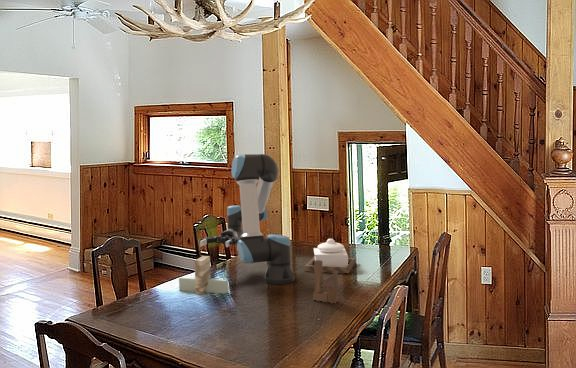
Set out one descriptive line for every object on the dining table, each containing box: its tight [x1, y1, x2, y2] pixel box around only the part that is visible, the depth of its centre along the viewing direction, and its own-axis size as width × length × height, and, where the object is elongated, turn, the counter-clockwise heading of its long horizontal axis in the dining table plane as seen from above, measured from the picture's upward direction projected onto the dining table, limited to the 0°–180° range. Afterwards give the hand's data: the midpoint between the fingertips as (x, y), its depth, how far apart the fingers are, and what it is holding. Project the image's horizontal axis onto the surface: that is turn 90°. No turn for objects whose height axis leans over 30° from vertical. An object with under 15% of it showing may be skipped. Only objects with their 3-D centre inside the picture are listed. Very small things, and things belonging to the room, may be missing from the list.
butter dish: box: [313, 238, 349, 267], centre depth 323 cm, size 18×18×16 cm
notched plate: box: [194, 255, 212, 295], centre depth 279 cm, size 4×10×16 cm, turn 165°
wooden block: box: [312, 260, 339, 304], centre depth 260 cm, size 4×11×18 cm, turn 61°
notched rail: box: [178, 276, 229, 294], centre depth 279 cm, size 24×2×6 cm, turn 75°
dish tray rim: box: [304, 255, 357, 274], centre depth 324 cm, size 24×24×3 cm
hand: (213, 244), depth 292 cm, fingers open, 13 cm apart
